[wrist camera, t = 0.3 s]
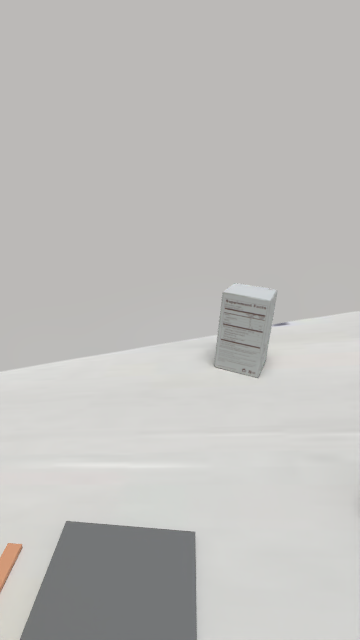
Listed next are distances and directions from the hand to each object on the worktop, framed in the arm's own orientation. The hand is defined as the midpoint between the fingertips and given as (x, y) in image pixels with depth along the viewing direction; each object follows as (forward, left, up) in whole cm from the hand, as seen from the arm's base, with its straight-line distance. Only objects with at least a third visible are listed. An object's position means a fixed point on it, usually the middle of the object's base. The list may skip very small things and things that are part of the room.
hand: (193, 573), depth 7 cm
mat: (+8, +3, -16) cm, 18 cm away
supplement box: (+45, -10, -17) cm, 49 cm away
